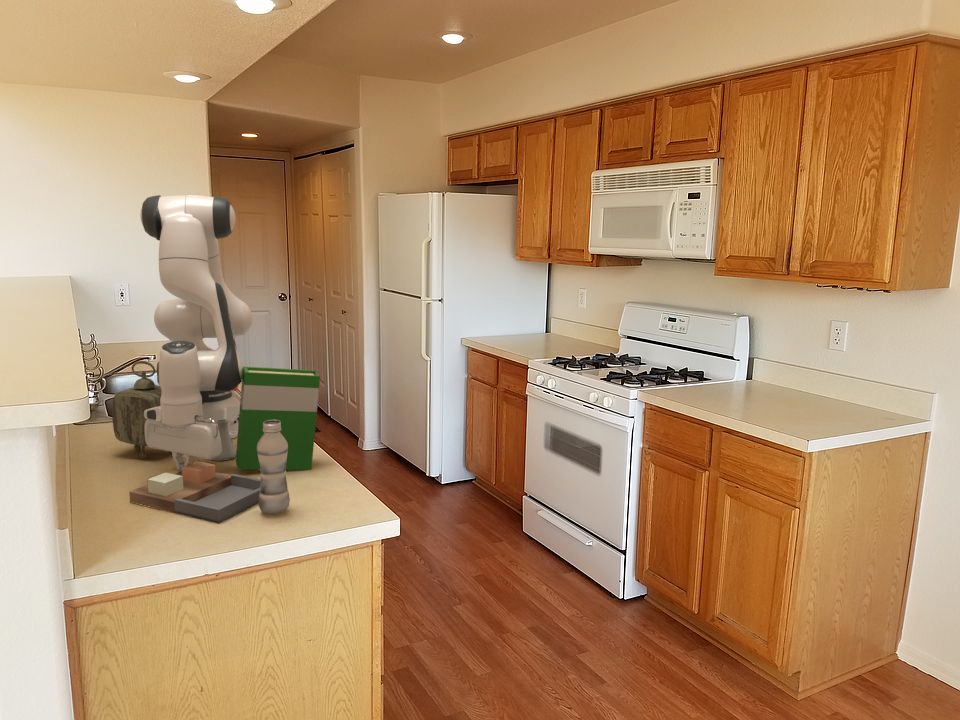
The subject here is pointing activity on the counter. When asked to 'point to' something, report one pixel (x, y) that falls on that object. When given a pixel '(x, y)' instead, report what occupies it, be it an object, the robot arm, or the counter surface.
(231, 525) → the counter surface
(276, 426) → the plastic bottle
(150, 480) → the cream block
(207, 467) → the orange square block
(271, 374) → the hardback book
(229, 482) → the walnut board
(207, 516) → the tray
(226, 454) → the flask
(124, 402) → the tabletop clock
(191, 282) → the robot arm
